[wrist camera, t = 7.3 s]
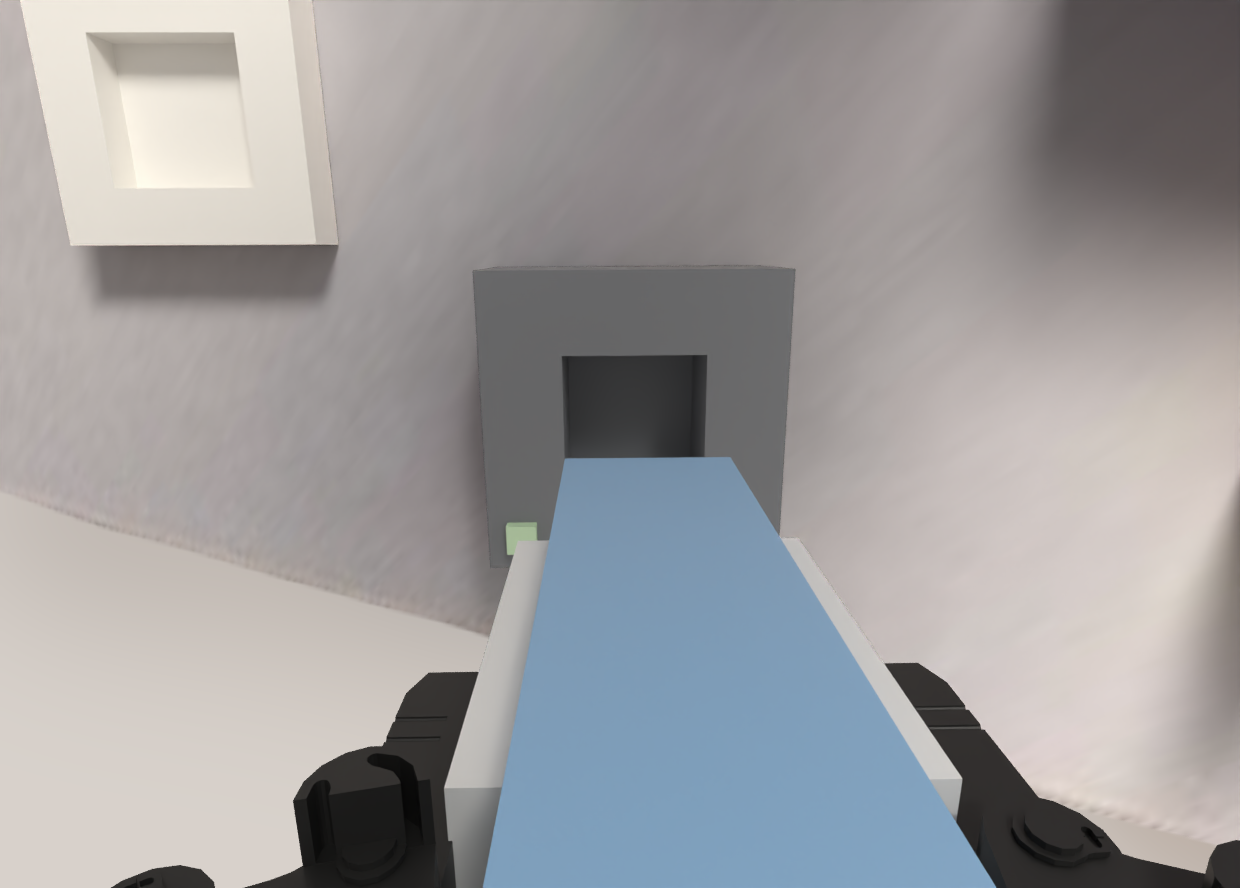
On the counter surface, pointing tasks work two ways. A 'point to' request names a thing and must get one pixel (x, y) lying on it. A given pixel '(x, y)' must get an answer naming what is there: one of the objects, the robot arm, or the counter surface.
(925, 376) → the counter surface
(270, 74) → the holster
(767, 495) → the port
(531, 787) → the plug
